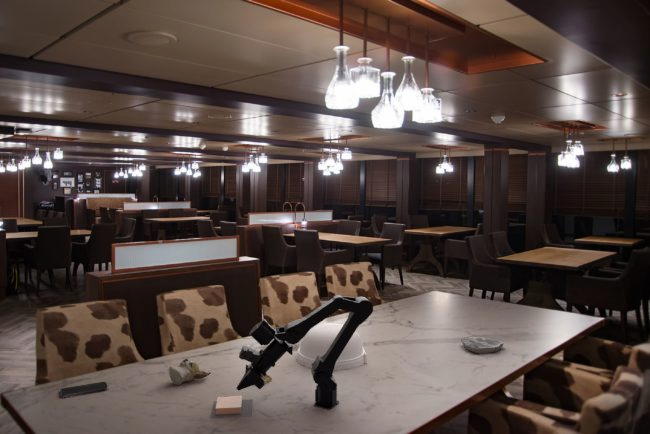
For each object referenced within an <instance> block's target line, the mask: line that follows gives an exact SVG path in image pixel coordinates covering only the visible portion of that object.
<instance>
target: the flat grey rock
mask: <svg viewBox="0 0 650 434" xmlns="http://www.w3.org/2000/svg"><path fill="white" fill-rule="evenodd" d="M460 342H461V343H462V345H463V346H464V348H465V350H467V351H469V352H471V353H474V354H479V355H481V354H490V353H495V352H497V351H499V350H501V349H502V348H503V346H504V341H502V340H498V339H495V338H492V337H491V338H489V337H481V336H468V337H467V338H466V337H465V338H461V339H460Z"/></svg>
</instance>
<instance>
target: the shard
mask: <svg viewBox="0 0 650 434" xmlns="http://www.w3.org/2000/svg"><path fill="white" fill-rule="evenodd" d="M261 375H262V374H261ZM262 376H263V375H262ZM263 377H264V385H265V384H267V383H270V382H272V380H273V378H272V377H271V376H270V375H268V374H266V375H265V376H263Z"/></svg>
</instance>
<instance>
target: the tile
mask: <svg viewBox="0 0 650 434" xmlns="http://www.w3.org/2000/svg"><path fill="white" fill-rule="evenodd" d="M242 400H243V395H233V396H232V395H231V396H218V397H217V399H216V401H217V404H216V415H222V414H240V413H241V409H242Z"/></svg>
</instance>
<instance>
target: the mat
mask: <svg viewBox="0 0 650 434" xmlns="http://www.w3.org/2000/svg"><path fill="white" fill-rule="evenodd" d="M253 402H254V400H253V399H252V398H251V399H250V398H249V399H242V409H241V413H240V414H222V415H216V404H217V400H214V401H213V404H212V409H211V413H210V414H211V415H210V419H223V418H241V417H242V418H243V417H244V418H245V417H253V407H254V406H253Z"/></svg>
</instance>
